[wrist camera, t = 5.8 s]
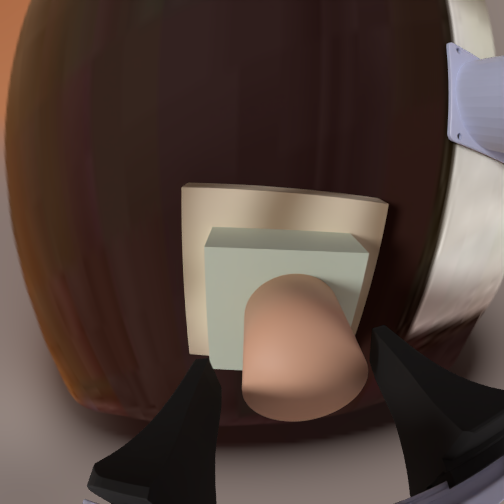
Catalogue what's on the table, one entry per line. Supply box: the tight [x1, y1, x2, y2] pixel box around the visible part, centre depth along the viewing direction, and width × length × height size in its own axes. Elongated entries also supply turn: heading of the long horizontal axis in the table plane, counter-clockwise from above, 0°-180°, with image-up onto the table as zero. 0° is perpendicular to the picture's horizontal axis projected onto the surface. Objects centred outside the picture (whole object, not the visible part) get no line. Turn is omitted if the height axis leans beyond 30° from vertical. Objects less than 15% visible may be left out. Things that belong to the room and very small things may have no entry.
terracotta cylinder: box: [242, 274, 368, 421], centre depth 12 cm, size 5×5×5 cm
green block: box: [204, 227, 369, 370], centre depth 16 cm, size 8×8×3 cm
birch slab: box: [182, 183, 389, 355], centre depth 18 cm, size 12×12×2 cm
